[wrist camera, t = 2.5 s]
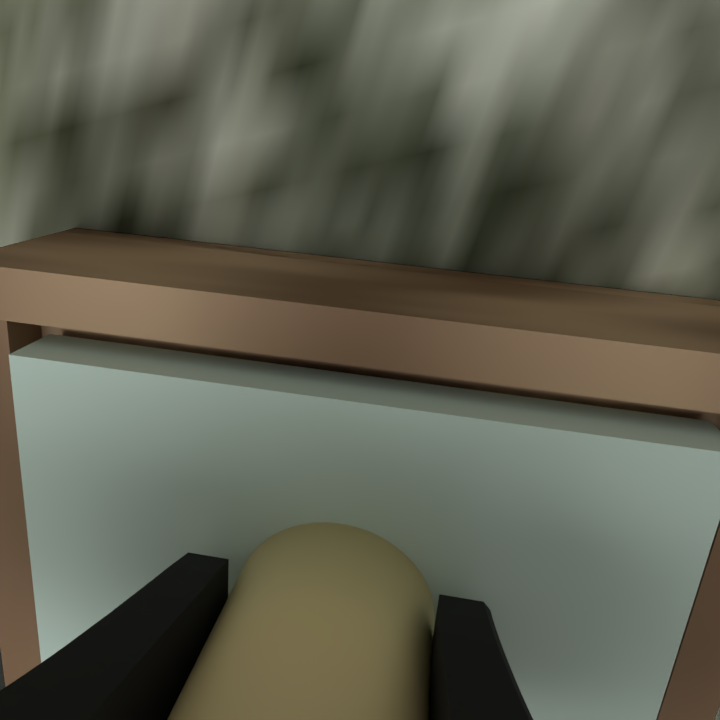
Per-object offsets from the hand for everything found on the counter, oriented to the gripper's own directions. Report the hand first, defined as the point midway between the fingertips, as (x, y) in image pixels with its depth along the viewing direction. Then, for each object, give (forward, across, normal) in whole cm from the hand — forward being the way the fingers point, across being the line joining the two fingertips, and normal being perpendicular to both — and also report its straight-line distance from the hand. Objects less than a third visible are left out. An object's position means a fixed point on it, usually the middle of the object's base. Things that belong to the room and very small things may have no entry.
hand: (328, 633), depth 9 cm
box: (+4, 0, 0) cm, 4 cm away
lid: (+2, 0, 0) cm, 2 cm away
